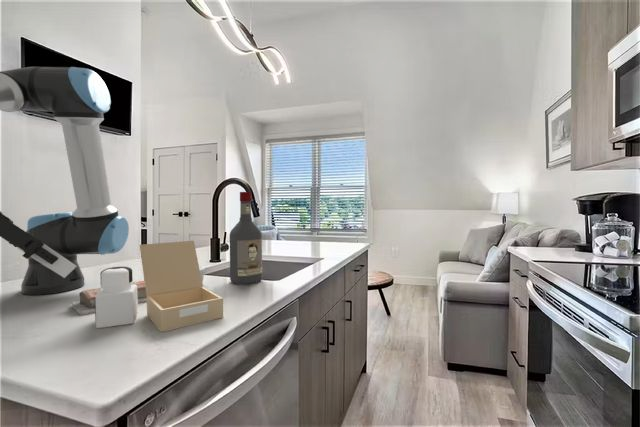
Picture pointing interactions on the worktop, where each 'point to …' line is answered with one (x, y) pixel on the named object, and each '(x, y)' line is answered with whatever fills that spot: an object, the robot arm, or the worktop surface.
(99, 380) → the worktop surface
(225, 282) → the worktop surface
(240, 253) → the liquor
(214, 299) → the mailer
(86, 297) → the packaged product
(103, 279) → the medicine bottle
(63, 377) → the worktop surface
